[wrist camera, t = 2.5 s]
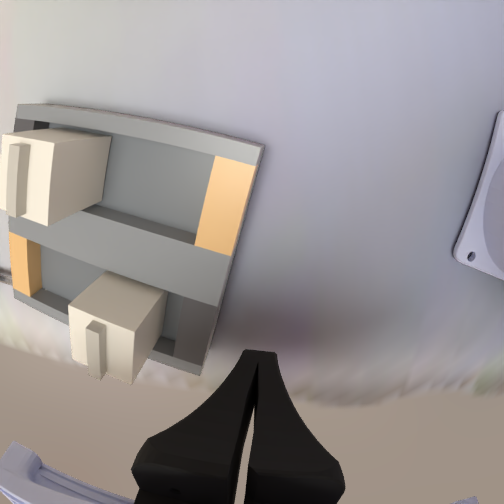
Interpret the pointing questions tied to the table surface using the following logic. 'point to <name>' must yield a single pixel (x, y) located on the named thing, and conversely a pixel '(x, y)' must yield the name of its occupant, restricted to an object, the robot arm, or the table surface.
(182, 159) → the switch bank
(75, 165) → the tab
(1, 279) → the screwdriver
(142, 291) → the tab
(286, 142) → the table surface
